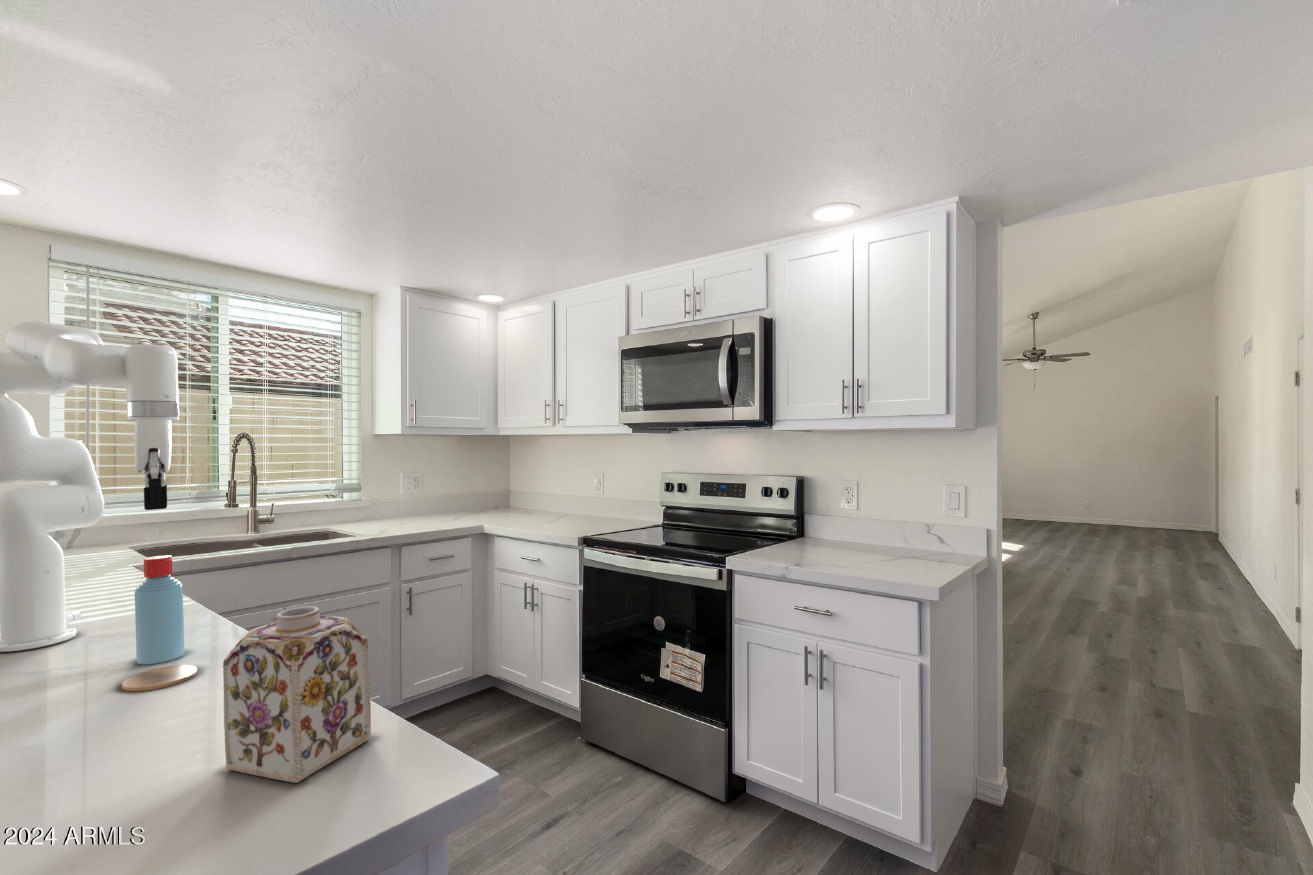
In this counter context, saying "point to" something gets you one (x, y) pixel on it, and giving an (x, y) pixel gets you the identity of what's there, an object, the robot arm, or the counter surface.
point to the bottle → (159, 620)
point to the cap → (158, 566)
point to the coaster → (159, 678)
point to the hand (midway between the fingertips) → (156, 507)
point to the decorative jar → (296, 695)
